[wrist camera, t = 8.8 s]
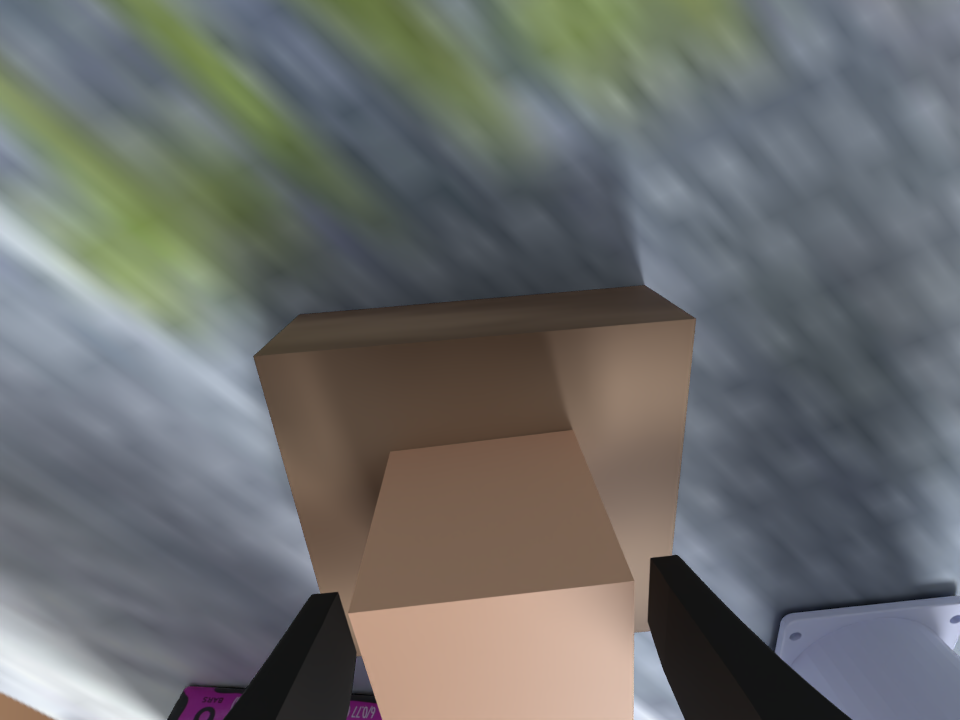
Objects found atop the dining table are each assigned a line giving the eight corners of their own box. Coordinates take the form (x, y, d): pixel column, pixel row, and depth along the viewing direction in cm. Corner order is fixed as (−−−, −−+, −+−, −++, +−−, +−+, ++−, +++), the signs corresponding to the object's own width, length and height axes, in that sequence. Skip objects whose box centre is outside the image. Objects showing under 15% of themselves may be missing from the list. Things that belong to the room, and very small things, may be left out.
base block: (625, 542, 20) (663, 629, 16) (362, 564, 20) (338, 657, 16) (639, 281, 15) (696, 318, 12) (303, 310, 15) (253, 356, 12)
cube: (580, 567, 15) (632, 753, 10) (420, 586, 15) (400, 777, 10) (573, 429, 13) (634, 580, 8) (390, 451, 13) (348, 613, 8)
